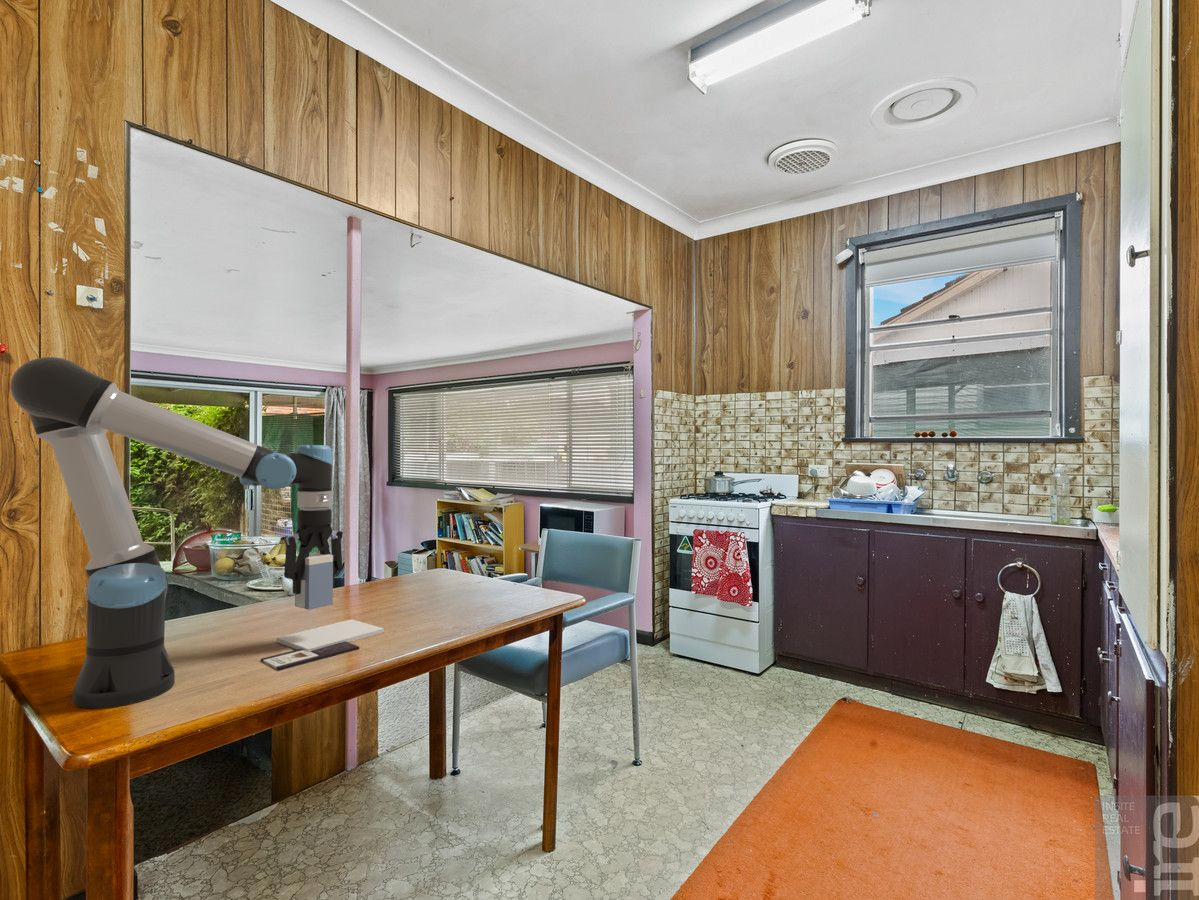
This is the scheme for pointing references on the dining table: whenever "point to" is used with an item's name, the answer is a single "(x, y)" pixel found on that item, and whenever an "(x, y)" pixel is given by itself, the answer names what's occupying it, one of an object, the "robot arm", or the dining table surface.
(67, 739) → the dining table surface
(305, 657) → the chocolate bar
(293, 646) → the board
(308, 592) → the block
